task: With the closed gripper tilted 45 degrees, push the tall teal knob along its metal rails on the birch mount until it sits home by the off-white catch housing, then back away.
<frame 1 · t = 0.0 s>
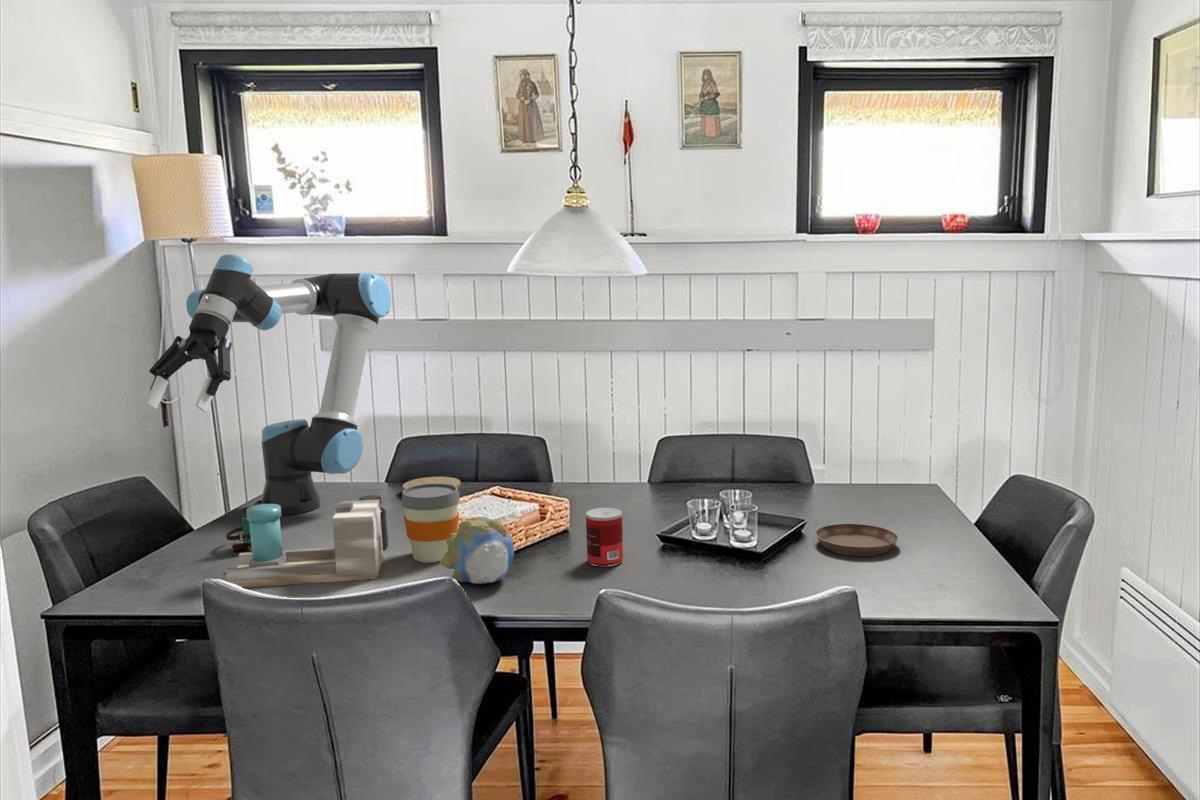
hand: (175, 407, 199), 36 cm above the table, tool tilted 35°, fingers open, 13 cm apart
decorative rock: (478, 580, 196), on the table
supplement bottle: (373, 549, 218), on the table
knob slider: (266, 537, 200), point 8 cm above the table, slide at 0.0 cm
tan shallow dish: (432, 494, 265), on the table
knob mount: (308, 573, 202), on the table
binoculars: (249, 548, 221), on the table
canned food: (605, 562, 205), on the table
plant saucer: (856, 548, 211), on the table
reusable coffee cup: (433, 556, 212), on the table
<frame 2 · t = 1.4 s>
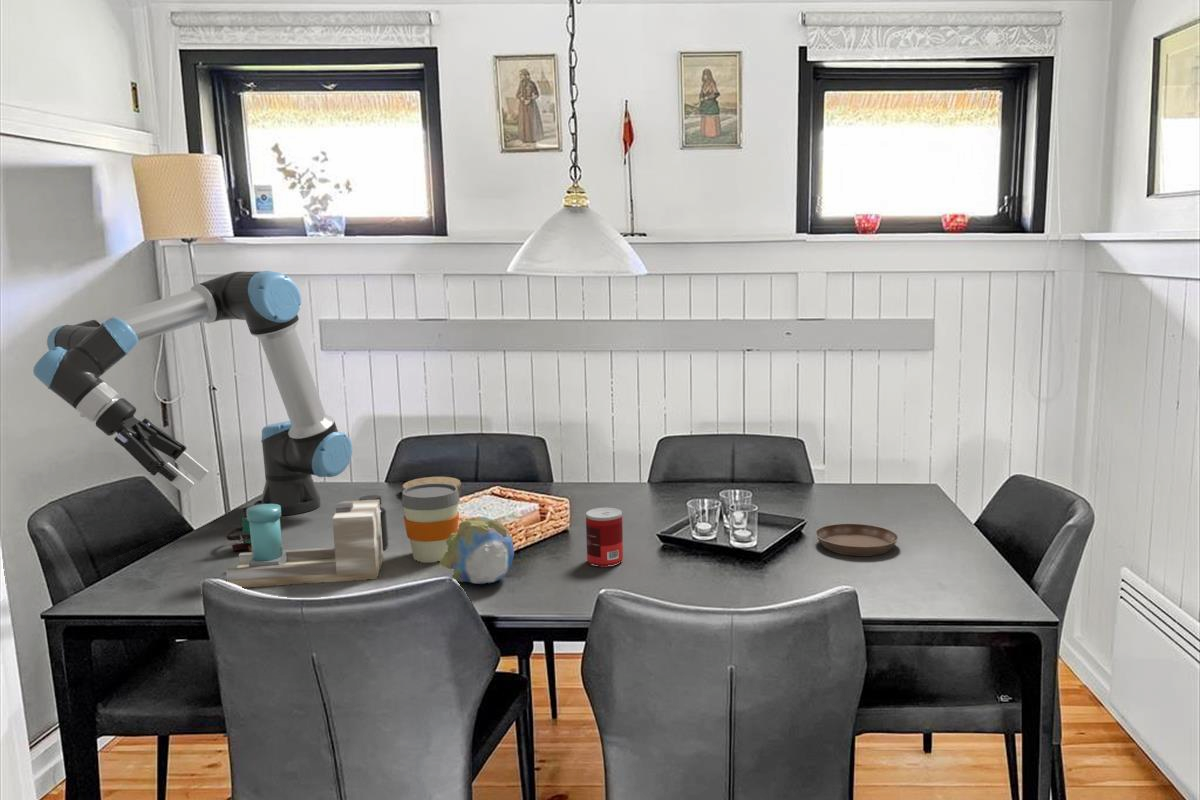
hand: (196, 482, 197), 21 cm above the table, tool tilted 45°, fingers open, 9 cm apart
nothing on the table moved.
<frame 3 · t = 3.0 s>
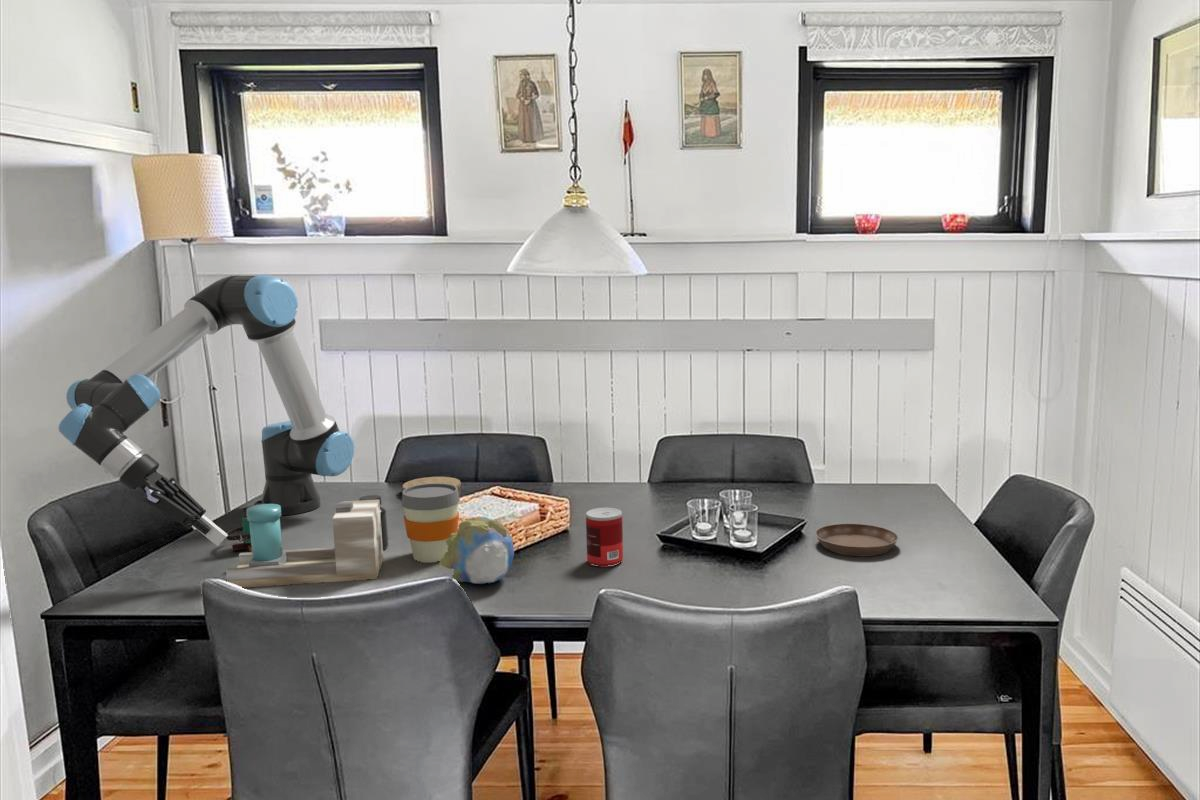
hand: (222, 540, 199), 8 cm above the table, tool tilted 45°, fingers closed
nothing on the table moved.
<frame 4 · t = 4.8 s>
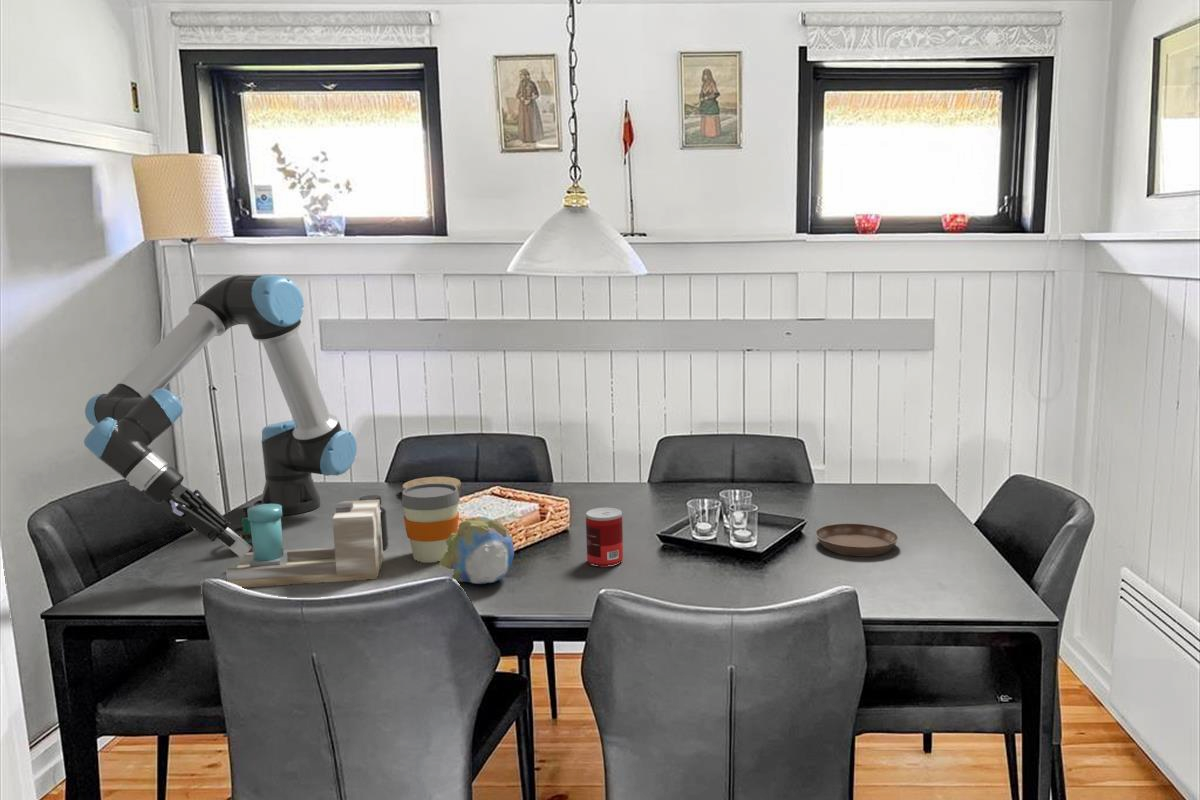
hand: (246, 552, 200), 5 cm above the table, tool tilted 45°, fingers closed
knob slider: (267, 537, 200), point 8 cm above the table, slide at 0.2 cm, touching gripper
everything else where it was.
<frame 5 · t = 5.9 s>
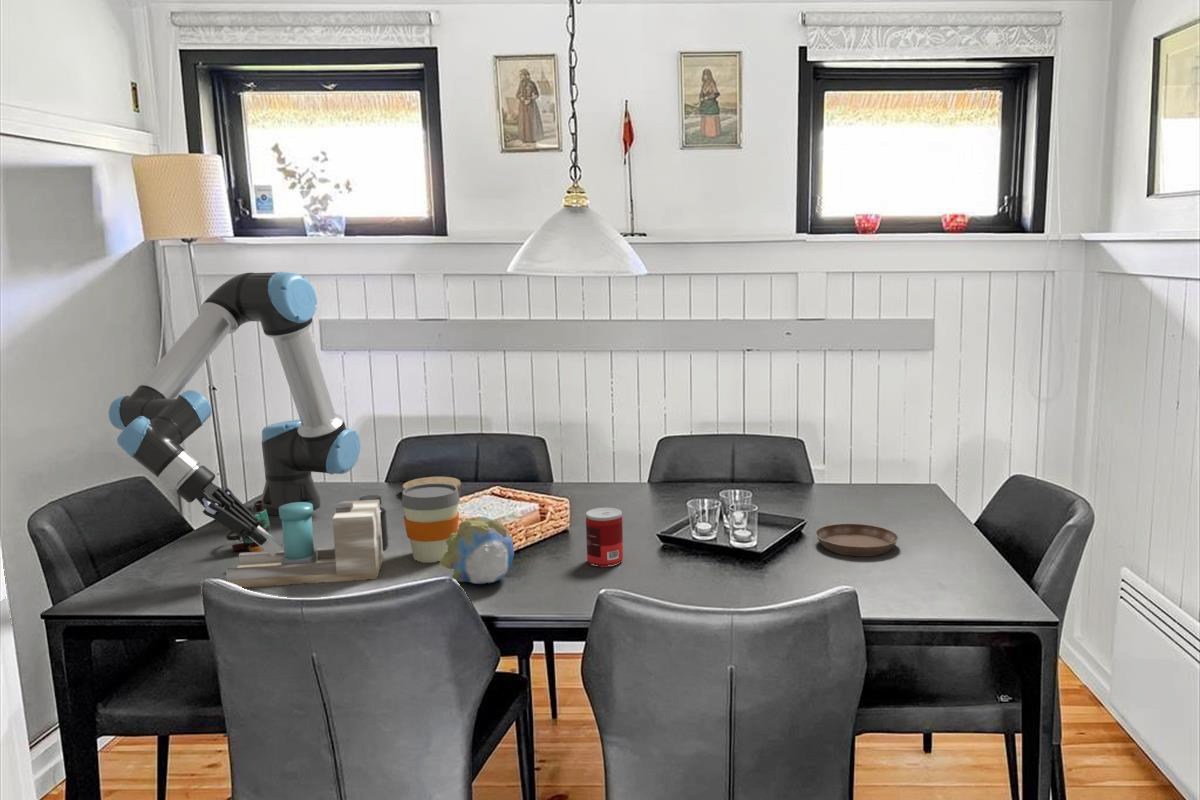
hand: (278, 550, 200), 5 cm above the table, tool tilted 45°, fingers closed
knob slider: (298, 536, 201), point 8 cm above the table, slide at 6.6 cm, touching gripper
everything else where it was.
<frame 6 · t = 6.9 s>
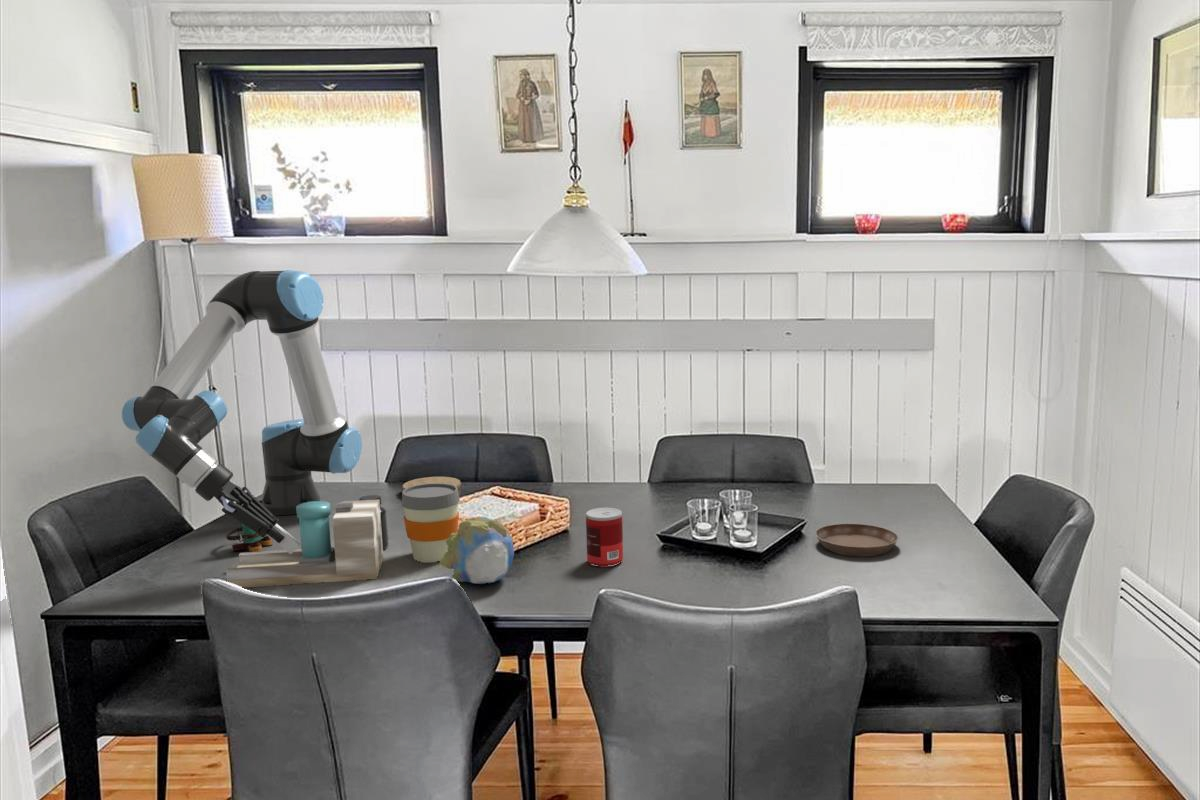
hand: (295, 548, 201), 6 cm above the table, tool tilted 45°, fingers closed
knob slider: (315, 535, 201), point 8 cm above the table, slide at 10.1 cm, touching gripper
everything else where it was.
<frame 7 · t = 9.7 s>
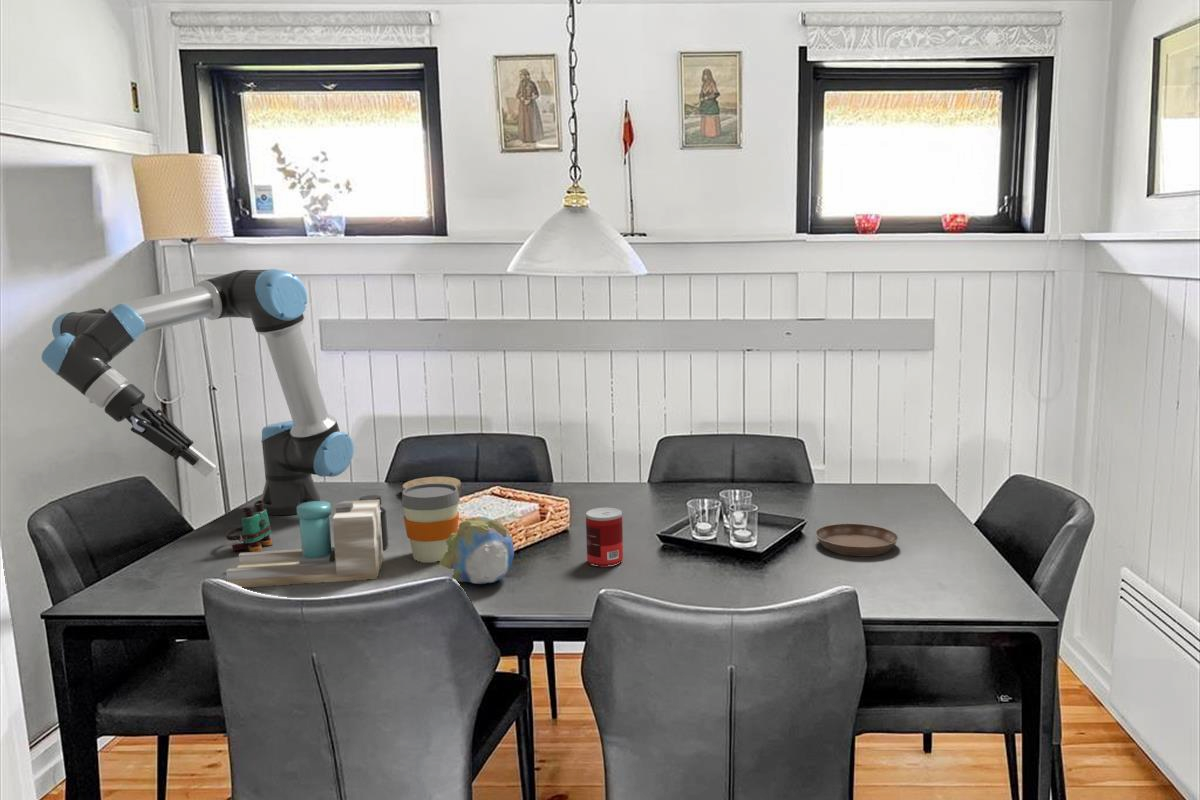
hand: (211, 471, 197), 23 cm above the table, tool tilted 45°, fingers closed
knob slider: (315, 535, 201), point 8 cm above the table, slide at 10.2 cm
everything else where it was.
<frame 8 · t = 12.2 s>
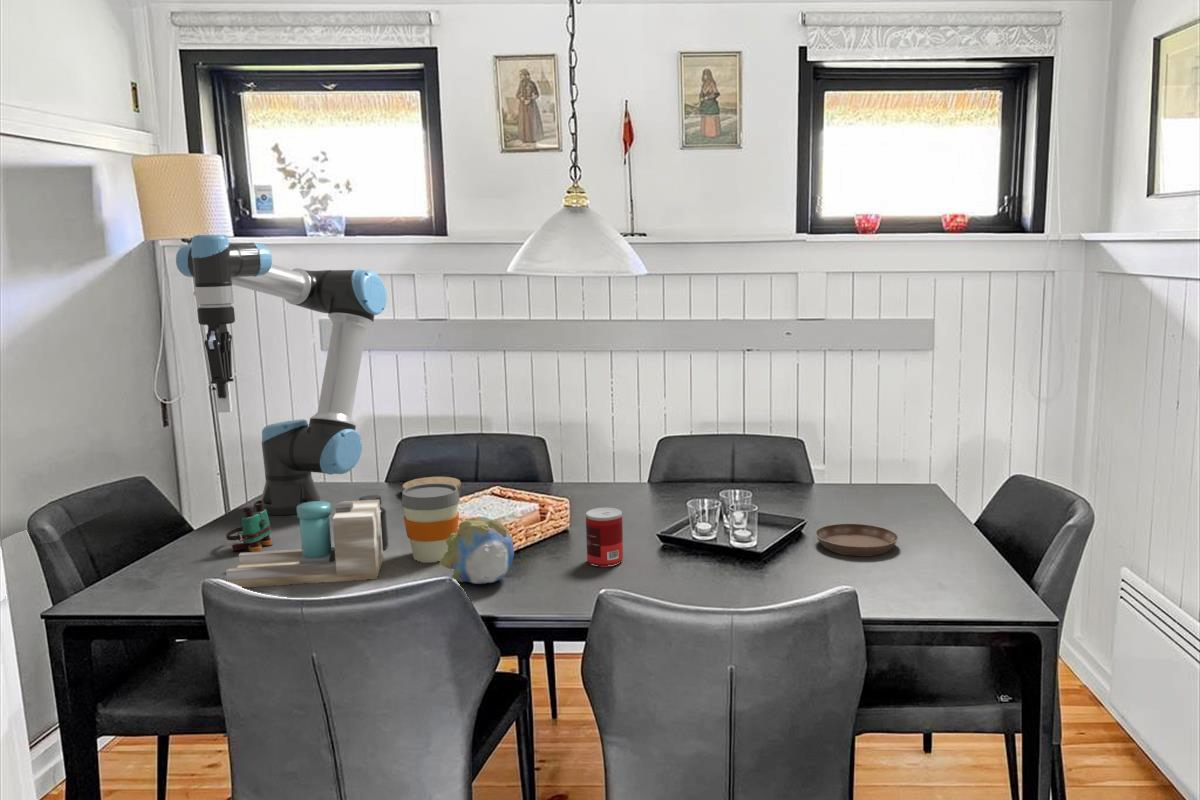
hand: (225, 411, 213), 32 cm above the table, tool pointing down, fingers closed
nothing on the table moved.
at the end: knob slider slide at 10.2 cm; reusable coffee cup moved 0.2 cm from its start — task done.
